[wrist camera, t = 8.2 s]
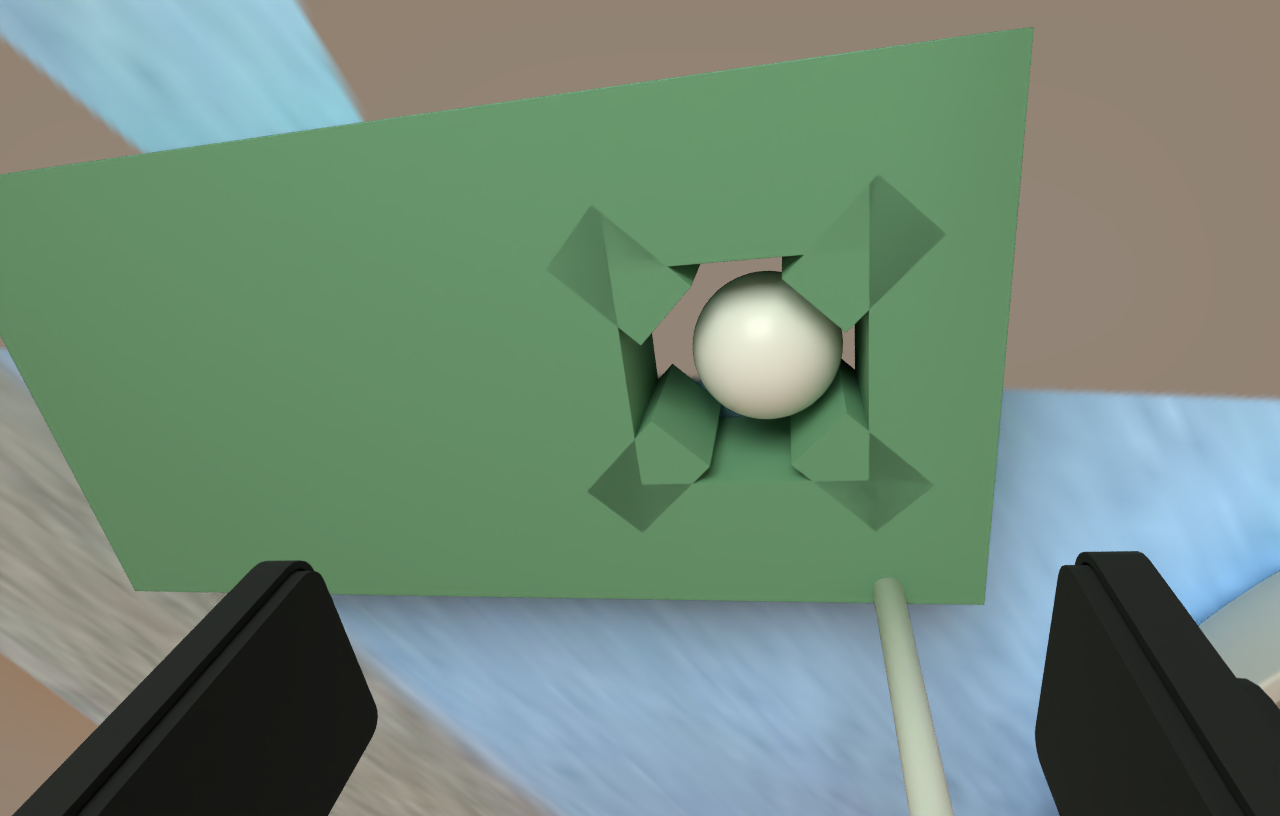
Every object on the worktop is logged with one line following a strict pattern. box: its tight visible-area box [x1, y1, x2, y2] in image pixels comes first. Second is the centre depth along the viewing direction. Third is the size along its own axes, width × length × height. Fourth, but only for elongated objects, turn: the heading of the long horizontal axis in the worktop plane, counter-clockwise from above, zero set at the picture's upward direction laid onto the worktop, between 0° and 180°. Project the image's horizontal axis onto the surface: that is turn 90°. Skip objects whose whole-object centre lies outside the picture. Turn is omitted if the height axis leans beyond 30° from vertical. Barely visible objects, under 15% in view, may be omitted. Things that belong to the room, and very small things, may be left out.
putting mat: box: [0, 27, 1034, 816], centre depth 15 cm, size 14×28×18 cm, turn 97°
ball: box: [693, 271, 843, 419], centre depth 20 cm, size 4×4×4 cm
